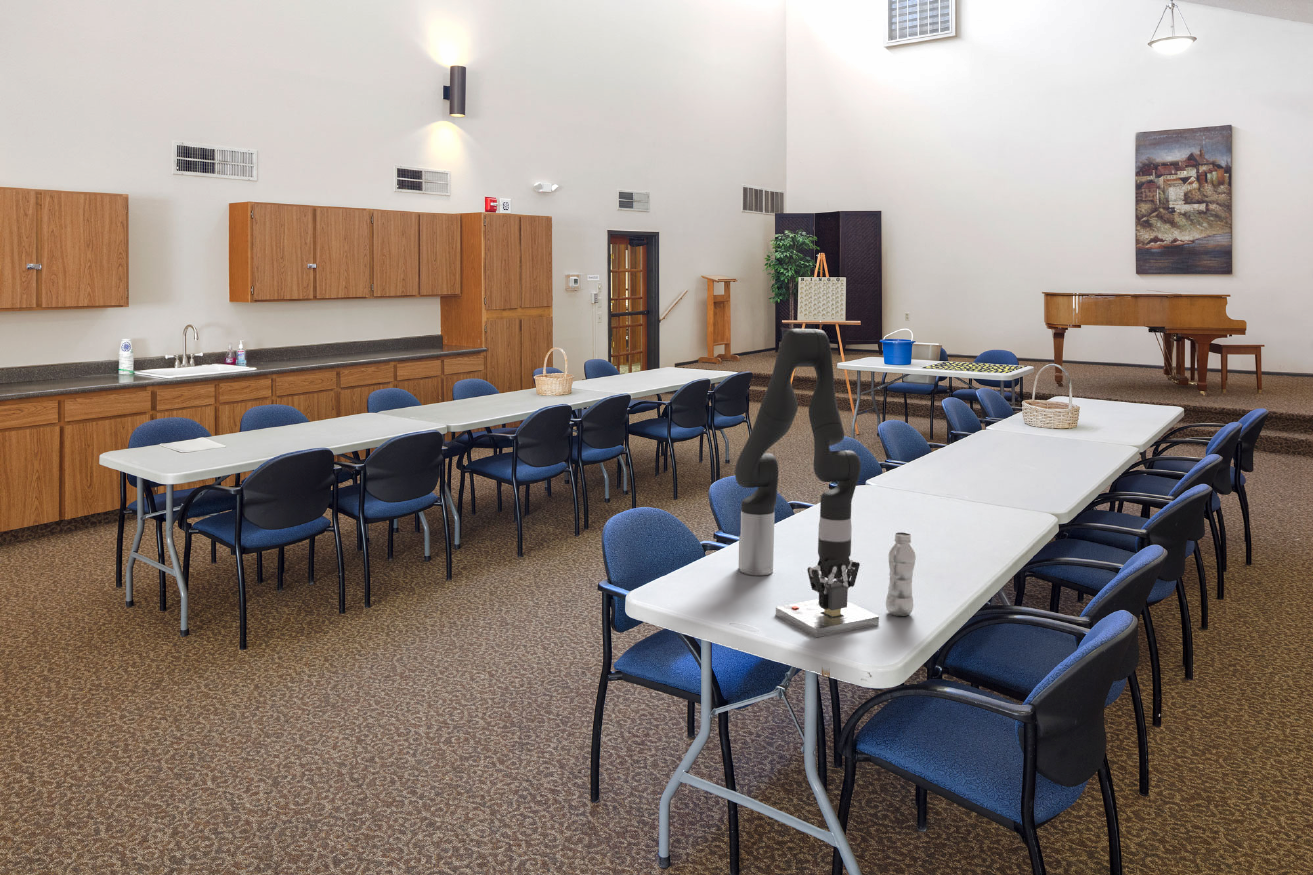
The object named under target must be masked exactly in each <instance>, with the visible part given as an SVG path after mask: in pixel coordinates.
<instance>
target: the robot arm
mask: <svg viewBox="0 0 1313 875" xmlns="http://www.w3.org/2000/svg"><path fill="white" fill-rule="evenodd" d="M773 366H774V367H773V371H772V374H771V378H770V380H769V383H768V385H767V388H766V390H765V394H764V395H763V398H762V400H761V404H760V406H759V409H758V412H757V415H756V418H755V420H754V421H755V422H754V424H753V427H752V429H751V432H750V435H749V436H748V439H747V441H746V442H745V444H744V446H743V448H742V450H741V452H740V454H739V455H738V458H737V461H736V465H735V470H734V474H735V475H734V477H735V481H736V483H737V485H739V486H740V487H742V488H748V489H749V488H751V489H753V488H754V489H755V488H757V489H756V490H755V491H754V492H753V493H752V494H751V495H749V496H747V497H745V498H743V499H742V501H741V503H740V535H739V536H738V569H739V571H740V572H741V573H742V574H745V575H749V576H759V577H760V576H768V575H771V574H772V573H774V554H775V553H774V552H775V551H774V548H775V511H776V510H775V508H776V505H777V499H778V497H777V496H778V484H779V464H778V460H777V458H776V456H775V455H774V454H773V453H770V452H767V451H768V450H769V449H770V448H772V447H773V445H775V444H776V443H777V442H778V441H780V440H781V439H782V438H783V437H784V436H785V435H786V434H787V433H788V432H789V431H790V429H791V426H792V424H793V422H794V421H795V417H796V415H797V411H798V408H799V404H798V400H797V396H796V394H795V391H794V388H793V385H792V381H791V380H792V377H793V374H794V371H795V370H796V368H799V367H800V368H806V367H807V368H813V369H814V371H815V374H816V383H815V386H814V391H813V394H812V396H811V399H810V401H809V406H808V418H809V423H810V427H811V431H812V435H813V441H814V443H813V446H814V447H813V448H814V449H813V450H814V454H813V472H814V474H815V476H816V477H817V480H819V481H821V482H823V483H836V482H838V483H837V485H836V486H835V487H834V488H832V489H830V490H826V491H825V492H822V494H821V496H820V504H819V506H820V509H819V510H820V511H819V522H818V538H817V554H818V557H819V558H818V562H817V565H815V566H813V567H812V566H811V567H810V566H809V567H808V568H807V570H806V571H807V575H808V579H809V583H810V588H811V590H812V591H815V592H817V593H818V599H819V606H820V607H821V608H823V609H828V591H829V587H830V585H832V582H833V581H834V580H836V581H839V582H841V583H842V585H845V586H847V587H848V589H849V588H853V587H855V583H856V580H857V576H858V573H859V569H860V566H861V565H860V564H861V563H860V562H859V561H856V560H854V559H850V557H851V555H852V533H853V532H852V529H853V528H852V527H853V526H852V501H853V498H854V493H855V490H856V488H857V485H858V481H859V478H860V474H861V470H862V469H861V468H862V465H861V459H860V457H859V456H858V454H857V453H856V452H855V451H854V450H848V449H847V450H833V451H832V450H831V449H830V447H831V446H835V445H837V444H840V443H841V442H842V441H844V438H845V431H844V427H843V423H842V419H841V415H840V410H839V407H838V402H837V398H836V388H835V375H834V367H833V358H832V349H831V343H830V339H829V337H828V335H827V333H826V332H825V331H824V330H822V329H818V328H817V329H816V328H791V329H788V330H787V331H785V333H784V334H783V336H782V338H781V340H780V343H779V347H778V350H777V355H776V360H775V363H774V365H773ZM824 584H825V586H824Z"/></svg>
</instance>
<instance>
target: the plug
mask: <svg viewBox="0 0 1313 875" xmlns="http://www.w3.org/2000/svg"><path fill="white" fill-rule="evenodd" d="M824 586H825V584H824ZM848 590H849V588H848V587H847V586H845V585H842V583H841V582H839V581H836V579H834V580H833V582H832V585H830V587H829V591H828V609H824V613H826V614H828V615H830V616H832V617H833V616H838V615H841V609H842V608H847V602H848Z"/></svg>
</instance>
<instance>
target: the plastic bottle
mask: <svg viewBox="0 0 1313 875" xmlns="http://www.w3.org/2000/svg"><path fill="white" fill-rule="evenodd" d="M911 538H912V535H911V533H908V532H905V531H902V532H901V531H899V532H895V534H894V544H893V546H892V547H891V548H890V550H889V551H888V556H887V557H888V568H889V582H888V583H889V584H888V591H887V595H886V598H885V607H886V608H885V609H886V610H887V612H888V613H889V614H891V615H893V616H898V617H906V616H909V615H911V613H912V612H913V610H914V598H913V584H912V583H913V576H914V569H915V564H916V558H917V555H916V552H915V551H914V549H913V547H912V546H911V543H912V540H911Z"/></svg>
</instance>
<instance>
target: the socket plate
mask: <svg viewBox="0 0 1313 875" xmlns="http://www.w3.org/2000/svg"><path fill="white" fill-rule="evenodd" d="M775 616H776V617H778V618H781V619H782V620H784V621H785V622H787V623H789V624H791V625H793V626H795V627H796V628H798V629H800V630H802V631H803V632H806V633H807V634H809V635H810V636H813V637H814V638H821V637H822V638H823V637H826V636H831V635H836V634H840V633H841V634H842V633H844V632H849V631H854V630H859V629H863V628H864V629H865V628H869V627H873V626H874V627H875V626H878V625H879V620H880V616H879V615H877V614H875V613H873V612H870V611H869V610H866V609H865V608H862V607H860V606H858V605H856V604H854V603H851V602H849V601H847V608H842V609H841V615H838V616H833V617H832V616H830V615H828V614H826V613H824V609H823V608H821V607H820V606H819V598H818V599H811V600H807V601H801V602H796V603H790V604H785V605H781V606H780V605H779V606H776V607H775Z"/></svg>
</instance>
